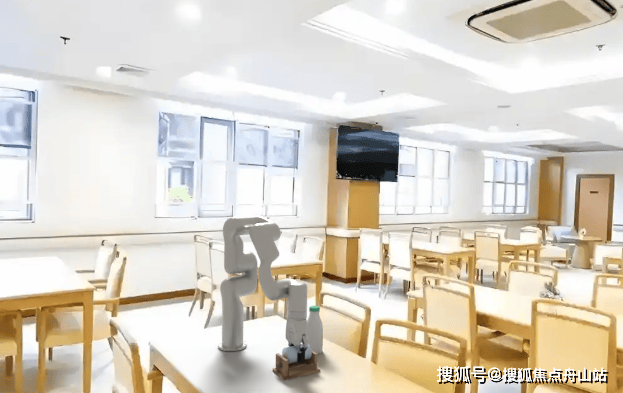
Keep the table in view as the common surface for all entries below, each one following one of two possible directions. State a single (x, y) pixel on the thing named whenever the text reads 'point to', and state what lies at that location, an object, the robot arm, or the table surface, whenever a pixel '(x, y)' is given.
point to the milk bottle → (315, 330)
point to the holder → (295, 367)
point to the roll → (295, 353)
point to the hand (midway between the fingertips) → (296, 358)
